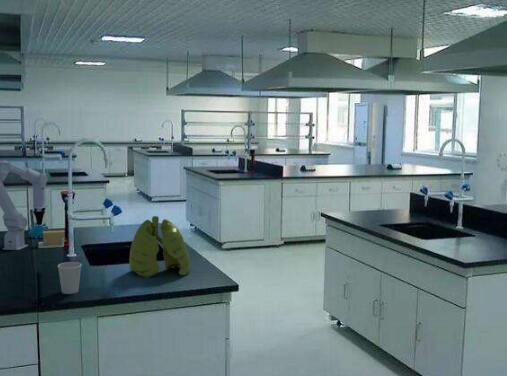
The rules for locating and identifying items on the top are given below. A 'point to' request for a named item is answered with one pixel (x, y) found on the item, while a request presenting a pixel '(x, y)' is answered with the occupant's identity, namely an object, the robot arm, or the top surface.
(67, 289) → the dixie cup
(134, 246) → the lungs
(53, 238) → the tan rectangular block
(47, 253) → the top surface
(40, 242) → the tray
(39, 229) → the blue spiky piece
